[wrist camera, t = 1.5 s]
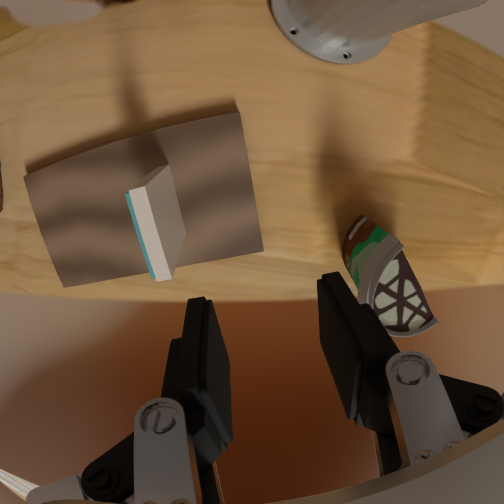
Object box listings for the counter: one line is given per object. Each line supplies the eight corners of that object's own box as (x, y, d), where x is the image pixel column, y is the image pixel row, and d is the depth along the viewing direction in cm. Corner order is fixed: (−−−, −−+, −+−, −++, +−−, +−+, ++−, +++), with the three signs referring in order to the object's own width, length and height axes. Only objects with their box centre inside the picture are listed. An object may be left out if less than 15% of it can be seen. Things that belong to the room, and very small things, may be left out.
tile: (153, 168, 27) (123, 191, 19) (169, 164, 27) (144, 186, 19) (170, 235, 30) (152, 282, 22) (186, 232, 30) (172, 279, 22)
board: (29, 174, 26) (23, 176, 25) (239, 111, 26) (239, 111, 25) (67, 282, 33) (63, 287, 31) (262, 246, 33) (263, 251, 31)
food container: (311, 238, 33) (341, 287, 24) (356, 204, 31) (402, 241, 22) (361, 306, 37) (393, 359, 28) (399, 278, 36) (439, 324, 27)
